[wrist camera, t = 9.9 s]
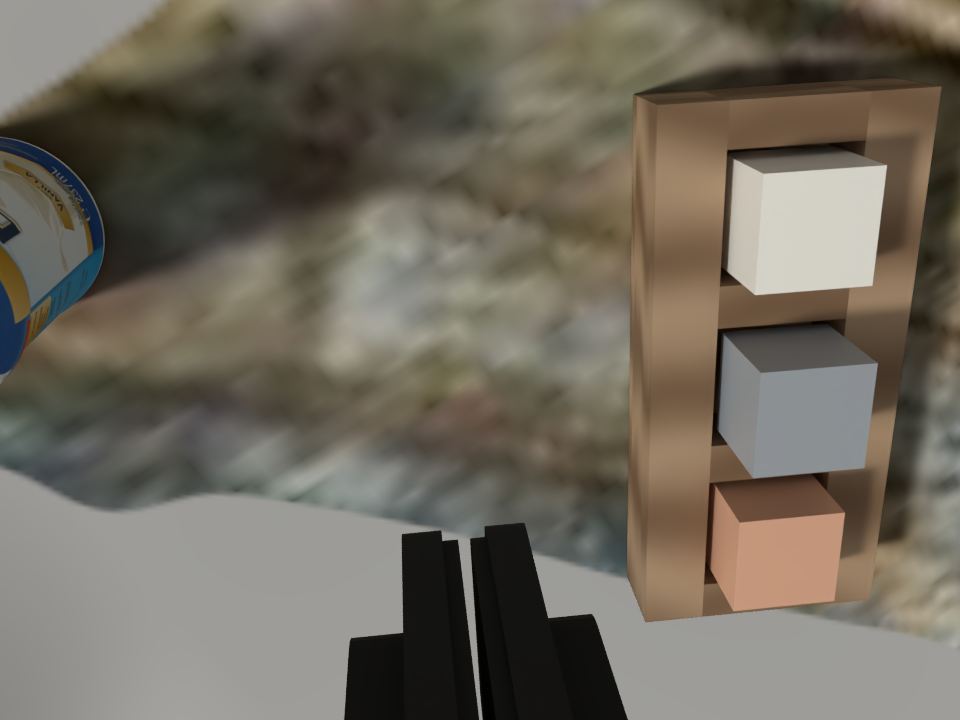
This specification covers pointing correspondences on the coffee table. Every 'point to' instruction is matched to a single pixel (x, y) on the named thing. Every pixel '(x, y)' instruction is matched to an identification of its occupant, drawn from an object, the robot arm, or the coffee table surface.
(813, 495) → the key terracotta
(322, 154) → the coffee table surface
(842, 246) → the key ivory
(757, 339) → the grey cube
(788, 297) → the wooden slotted tray
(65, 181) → the beverage bottle
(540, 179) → the coffee table surface
